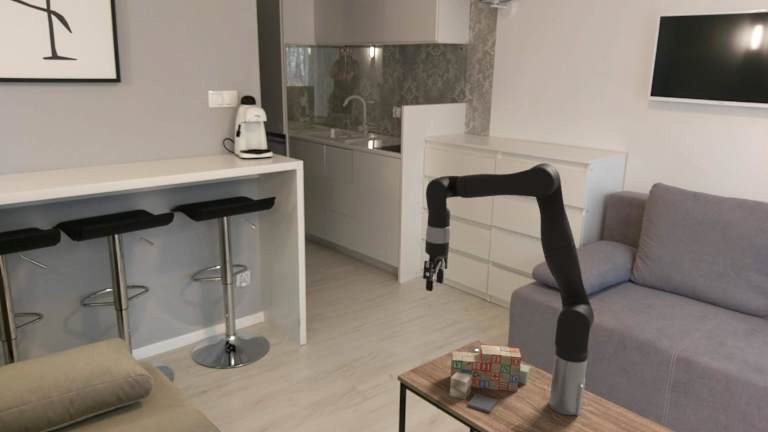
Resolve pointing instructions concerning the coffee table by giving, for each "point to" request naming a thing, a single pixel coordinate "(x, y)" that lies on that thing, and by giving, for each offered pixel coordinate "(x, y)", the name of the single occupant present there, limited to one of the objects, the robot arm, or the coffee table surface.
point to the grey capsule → (474, 349)
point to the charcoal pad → (482, 403)
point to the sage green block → (524, 374)
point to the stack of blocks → (490, 367)
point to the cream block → (460, 385)
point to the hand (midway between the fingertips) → (434, 286)
